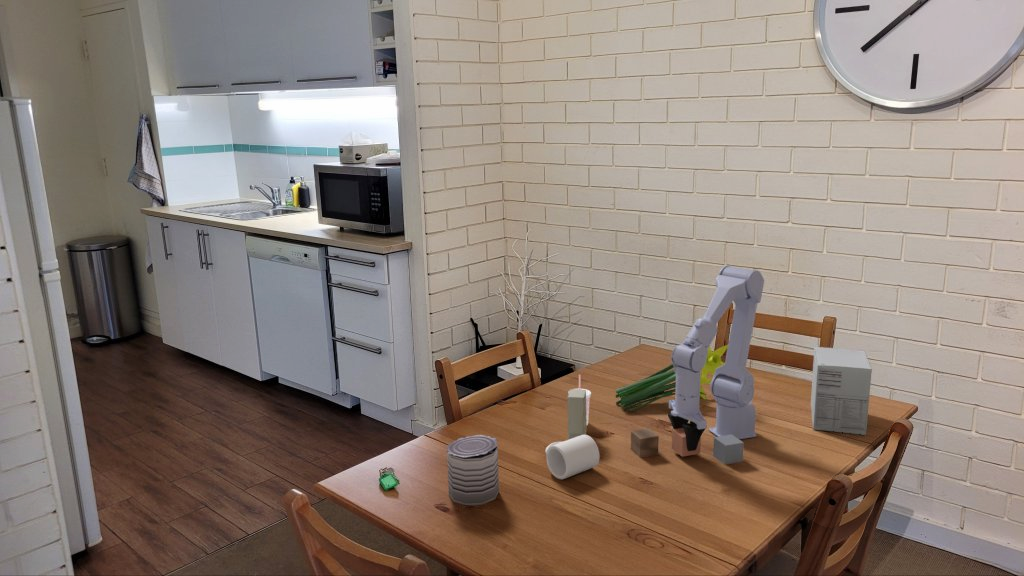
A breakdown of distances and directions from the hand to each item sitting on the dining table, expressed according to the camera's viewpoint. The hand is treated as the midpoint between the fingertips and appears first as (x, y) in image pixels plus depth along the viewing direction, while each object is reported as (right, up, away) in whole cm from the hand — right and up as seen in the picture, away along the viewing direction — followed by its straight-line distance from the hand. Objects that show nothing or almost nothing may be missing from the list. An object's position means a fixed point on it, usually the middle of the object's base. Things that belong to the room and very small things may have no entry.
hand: (685, 445), depth 185 cm
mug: (-30, -5, -5) cm, 30 cm away
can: (-51, -8, -16) cm, 54 cm away
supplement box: (+45, +2, +19) cm, 49 cm away
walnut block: (-10, -2, +3) cm, 10 cm away
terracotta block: (0, -1, 0) cm, 1 cm away
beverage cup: (-24, +1, +21) cm, 32 cm away
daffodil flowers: (+3, +5, +33) cm, 34 cm away
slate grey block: (+10, -3, -2) cm, 10 cm away
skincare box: (-26, -1, +12) cm, 29 cm away
